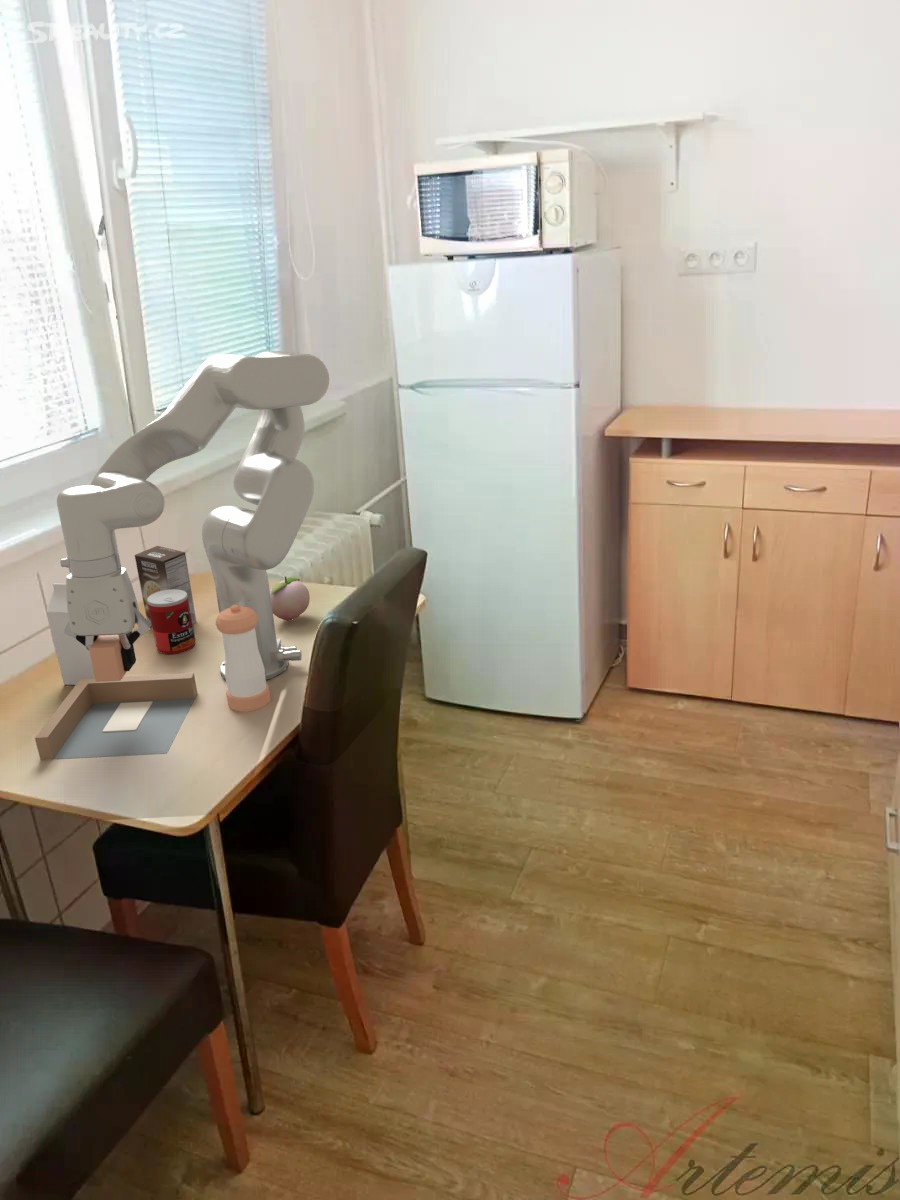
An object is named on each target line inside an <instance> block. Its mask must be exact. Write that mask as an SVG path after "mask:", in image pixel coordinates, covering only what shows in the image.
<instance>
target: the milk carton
mask: <svg viewBox="0 0 900 1200" xmlns="http://www.w3.org/2000/svg"><path fill="white" fill-rule="evenodd" d="M52 587H53V592H52V594H51V596H50V600H49V602H48V605H47V609H46V611H45V612H46V615H47V619H48V623H49V628H50V632H51V636H52V641H53V644H54V648H55V652H56V653H55V654H56V656H57V661H58V665H59V668H60V675H61V678H62V682H63V684H64V685H65V686H66V685H67V686H69V685H70V686H75V685H76V684H77V683H78V682H79V680H80V679H87V678H95V676H94V671H93V666H92V662H91V657H90V652H89V651H88V650H87V649H86V646H84V645H83V644H81V643H80V642H79V641H77V640H76V638H73V637H71V636H69V635H67V634H65V633H64V630H65V628H66V625H67V623H68V621H69V617H68V609H67V597H66V583H52ZM99 636H100V635H99Z"/></svg>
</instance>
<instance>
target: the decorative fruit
mask: <svg viewBox="0 0 900 1200" xmlns="http://www.w3.org/2000/svg"><path fill="white" fill-rule="evenodd" d="M270 597H271V604H272V611H273V616H275V617H277V618H279V619H280V620H282V621H283V620H284V621H286V622H287V621H288V622H290V621H289V620H292V619H293V620H295V619H297V618H298V617H300V615H302V614H303V613H305V612H306V610H307V609H308V608H309V605H310V597H311V596H310V592H309V589H308V587H307V586H306V585H305V584H304V583H302V582H301V579H300V578H299V577H295V576H290V577H288V578H287V576H284V579H283V580H281V581H280V582H278V583H277V584H275V585H273V587H272V588H271V589H270ZM293 620H292V621H293Z"/></svg>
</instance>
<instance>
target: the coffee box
mask: <svg viewBox="0 0 900 1200" xmlns="http://www.w3.org/2000/svg"><path fill="white" fill-rule="evenodd" d="M134 559H135V564H136V570H137V576H138V581H139V586H140V591H141V596H142V603H143V606H144V612H145V618H146V620H147V621H148V622H149V623H150V624H151V619H150V614H149V609H148V603H147V602H148V601H147V598H148V597H149V596H150V595H152V594H154V593H156V592H159V591H163V590H170V589H177V590H183V591H185V592H186V593H187V596H188V601H189V606H190V612H191V618H192V624H193V625H194V624H196V623H197V617H196V612H195V604H194V603H195V602H194V599H193V592H192V587H191V580H190V579H191V578H190V573H189V568H188V562H187V561H188V560H187V554H186V552H185V551H182V550H176V549H172V548H169V547H168V548H167V547H163V546H159V545H156V546H154V547H151V548H147V549H145V550H143V551H142V552H139V553H136V554H134ZM151 627H152V624H151Z"/></svg>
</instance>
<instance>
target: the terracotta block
mask: <svg viewBox="0 0 900 1200" xmlns="http://www.w3.org/2000/svg"><path fill="white" fill-rule="evenodd" d="M122 648H123V647H122V643H121V640H120V638H119V636H118V635H100V636H99V637H98V638H97V639H96V640H95V641H94V643H93V644H92V645H91V646H90V647H89V652H90V657H91V662H92V666H93V671H94V676H95V681H96V682H106V681H121V679H122V678H123V677H125V675H126V673H127V672H128V671H125V670H124V665H123V660H122V655H121V649H122Z"/></svg>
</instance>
